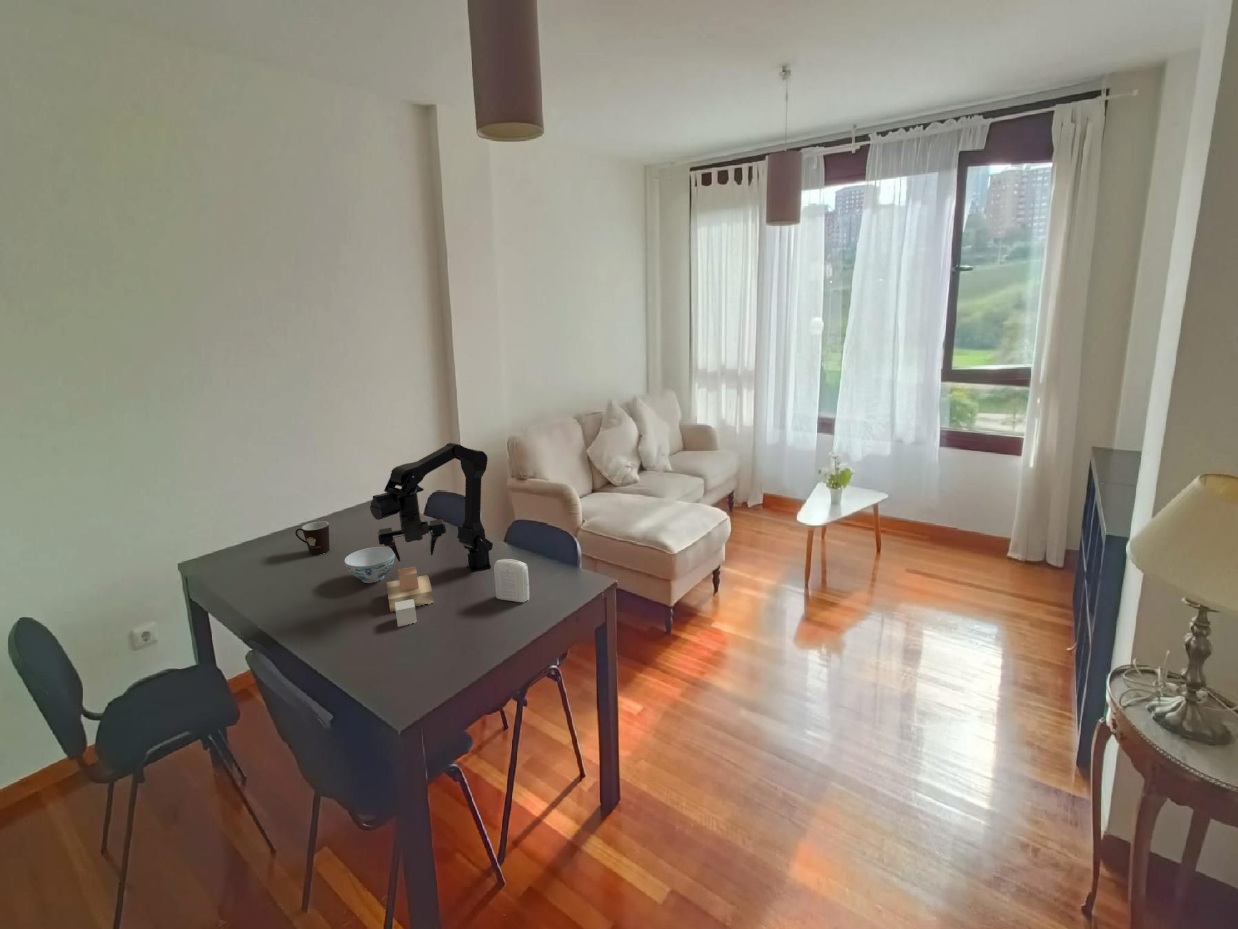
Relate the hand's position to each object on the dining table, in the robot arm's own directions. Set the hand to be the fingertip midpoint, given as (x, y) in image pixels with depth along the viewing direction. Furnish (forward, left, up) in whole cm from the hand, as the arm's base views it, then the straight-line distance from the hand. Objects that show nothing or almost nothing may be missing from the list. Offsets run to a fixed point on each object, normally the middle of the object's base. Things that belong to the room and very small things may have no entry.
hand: (415, 558), depth 183 cm
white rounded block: (-25, +16, -12) cm, 32 cm away
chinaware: (+13, -17, -12) cm, 25 cm away
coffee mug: (+31, -50, -12) cm, 60 cm away
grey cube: (+5, +16, -12) cm, 20 cm away
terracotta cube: (+3, +3, -8) cm, 8 cm away
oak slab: (+3, +3, -12) cm, 12 cm away
